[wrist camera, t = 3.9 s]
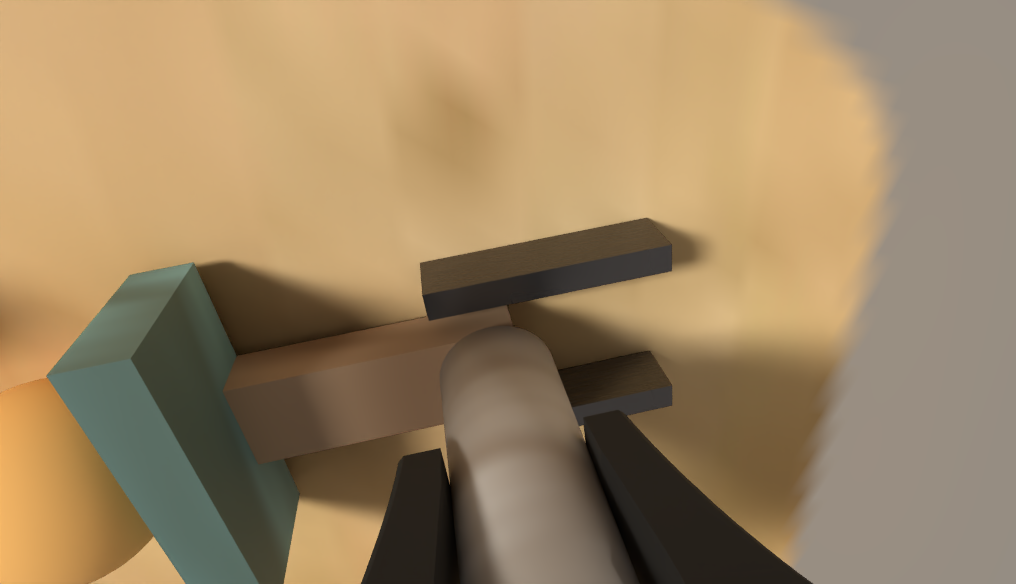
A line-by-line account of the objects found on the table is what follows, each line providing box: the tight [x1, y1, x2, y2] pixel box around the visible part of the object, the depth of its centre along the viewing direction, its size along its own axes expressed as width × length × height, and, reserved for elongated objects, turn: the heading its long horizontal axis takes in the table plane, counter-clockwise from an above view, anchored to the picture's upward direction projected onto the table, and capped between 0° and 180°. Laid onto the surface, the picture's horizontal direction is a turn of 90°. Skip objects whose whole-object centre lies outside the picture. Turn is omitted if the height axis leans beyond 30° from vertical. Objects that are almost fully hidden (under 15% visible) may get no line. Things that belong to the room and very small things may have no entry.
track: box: [420, 218, 672, 426], centre depth 13 cm, size 5×4×1 cm
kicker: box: [47, 263, 640, 584], centre depth 10 cm, size 8×6×8 cm
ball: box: [0, 378, 153, 584], centre depth 12 cm, size 4×4×4 cm
